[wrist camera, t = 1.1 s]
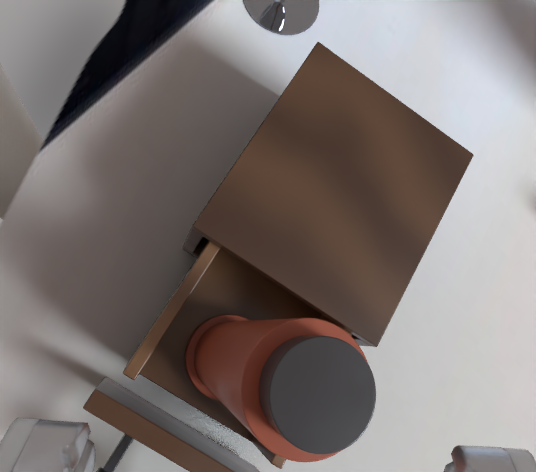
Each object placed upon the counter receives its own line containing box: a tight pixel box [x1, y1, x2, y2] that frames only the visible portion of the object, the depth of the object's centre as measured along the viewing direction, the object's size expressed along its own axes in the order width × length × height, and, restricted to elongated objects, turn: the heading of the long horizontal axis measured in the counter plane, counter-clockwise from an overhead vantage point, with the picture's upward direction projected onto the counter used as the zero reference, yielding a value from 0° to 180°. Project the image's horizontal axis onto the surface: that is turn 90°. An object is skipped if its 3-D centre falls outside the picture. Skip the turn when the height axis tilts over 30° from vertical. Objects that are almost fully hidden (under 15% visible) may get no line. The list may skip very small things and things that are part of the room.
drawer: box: [83, 241, 352, 472], centre depth 32 cm, size 19×12×7 cm, turn 148°
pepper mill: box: [184, 314, 376, 462], centre depth 25 cm, size 6×6×20 cm
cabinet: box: [183, 42, 473, 347], centre depth 36 cm, size 16×14×9 cm
